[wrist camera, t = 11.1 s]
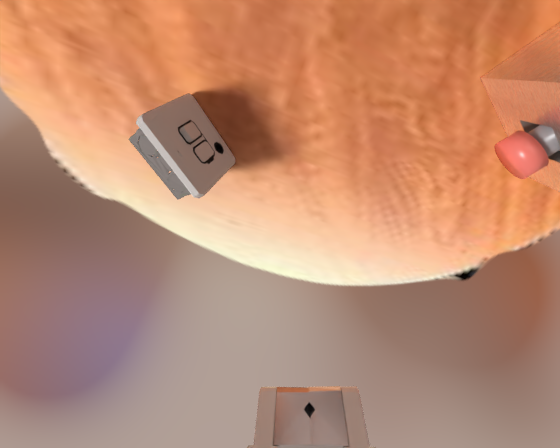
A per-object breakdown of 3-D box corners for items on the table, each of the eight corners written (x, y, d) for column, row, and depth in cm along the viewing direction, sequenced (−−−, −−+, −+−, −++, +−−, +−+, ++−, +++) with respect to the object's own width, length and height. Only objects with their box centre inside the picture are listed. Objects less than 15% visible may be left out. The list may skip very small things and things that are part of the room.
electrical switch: (238, 160, 38) (215, 190, 30) (207, 179, 40) (177, 211, 32) (191, 91, 35) (151, 104, 27) (159, 114, 36) (113, 133, 28)
